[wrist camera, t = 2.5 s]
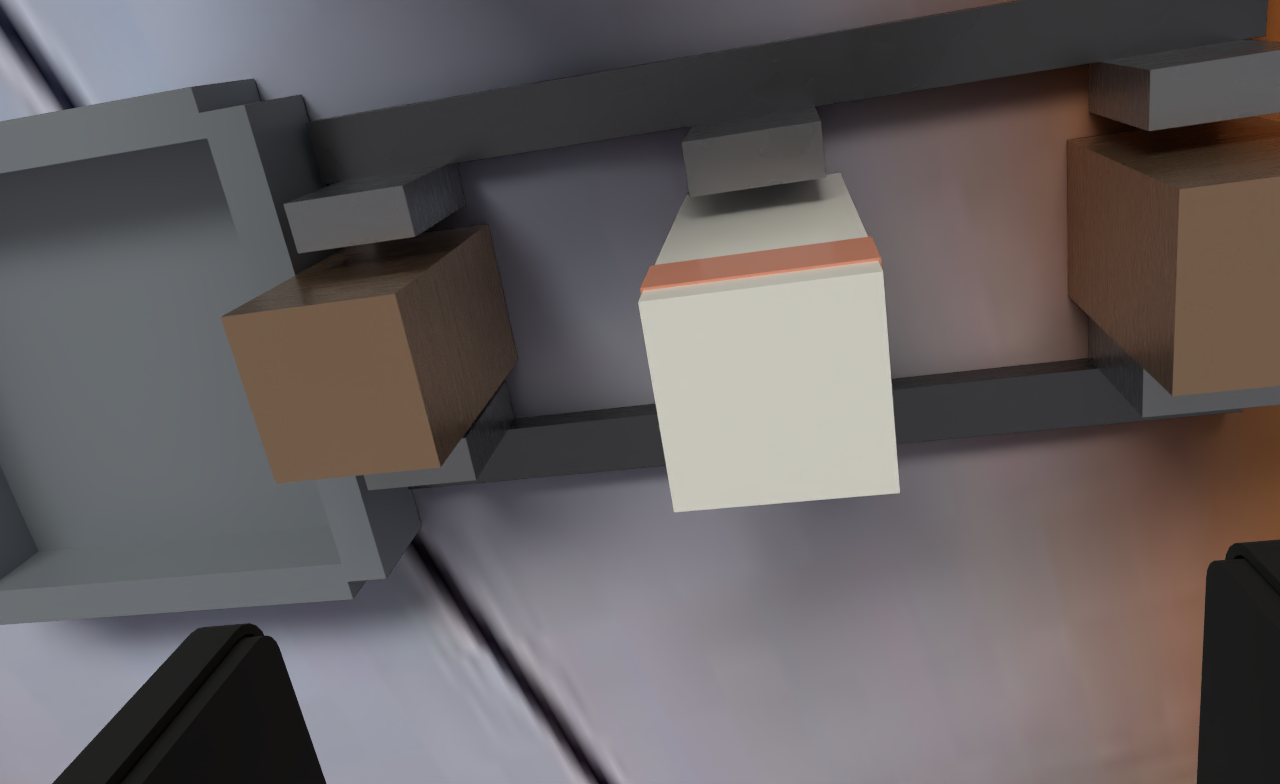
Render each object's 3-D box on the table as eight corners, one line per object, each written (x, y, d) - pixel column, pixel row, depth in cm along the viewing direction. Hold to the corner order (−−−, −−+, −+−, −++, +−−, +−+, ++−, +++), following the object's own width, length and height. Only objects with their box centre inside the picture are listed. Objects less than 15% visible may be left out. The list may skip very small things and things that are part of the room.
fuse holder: (1253, -40, 21) (1460, -61, 15) (1227, 399, 25) (1384, 533, 19) (319, 119, 26) (167, 156, 19) (417, 477, 29) (317, 609, 23)
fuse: (842, 170, 24) (885, 267, 15) (855, 322, 26) (903, 495, 17) (683, 193, 25) (634, 299, 16) (705, 339, 27) (671, 514, 17)
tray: (295, 71, 25) (236, 78, 22) (425, 543, 30) (391, 596, 27) (-157, 152, 28) (-259, 168, 25) (34, 575, 33) (-34, 627, 30)
